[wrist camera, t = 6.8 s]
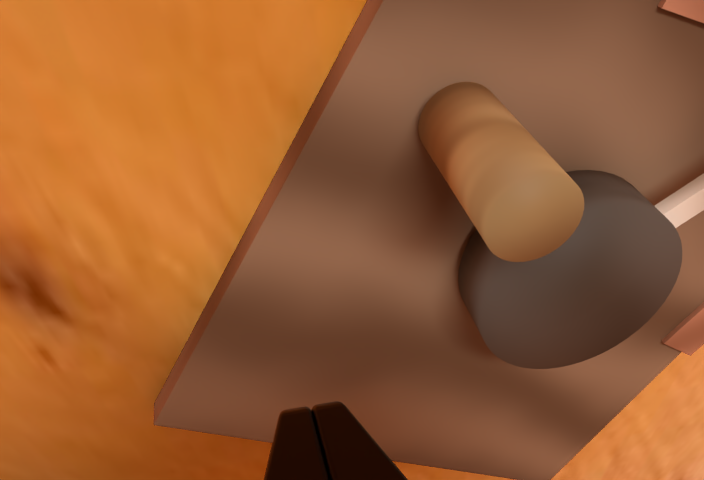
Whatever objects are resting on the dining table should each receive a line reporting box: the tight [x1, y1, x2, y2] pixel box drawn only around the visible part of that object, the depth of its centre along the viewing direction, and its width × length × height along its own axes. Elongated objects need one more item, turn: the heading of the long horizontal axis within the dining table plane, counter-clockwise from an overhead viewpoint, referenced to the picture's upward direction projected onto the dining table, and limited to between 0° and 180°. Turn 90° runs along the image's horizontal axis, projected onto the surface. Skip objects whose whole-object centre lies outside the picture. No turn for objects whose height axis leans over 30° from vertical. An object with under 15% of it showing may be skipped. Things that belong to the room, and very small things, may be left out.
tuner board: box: [154, 0, 704, 480], centre depth 23 cm, size 24×21×1 cm
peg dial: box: [418, 82, 704, 369], centre depth 19 cm, size 14×12×5 cm
